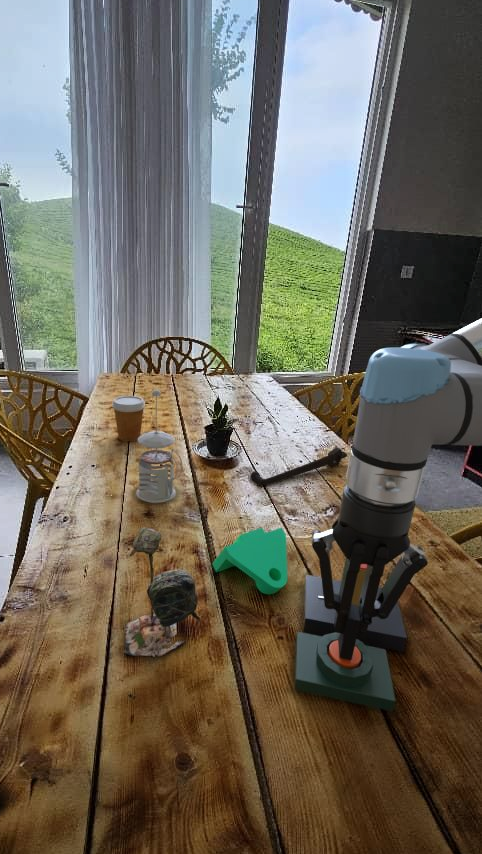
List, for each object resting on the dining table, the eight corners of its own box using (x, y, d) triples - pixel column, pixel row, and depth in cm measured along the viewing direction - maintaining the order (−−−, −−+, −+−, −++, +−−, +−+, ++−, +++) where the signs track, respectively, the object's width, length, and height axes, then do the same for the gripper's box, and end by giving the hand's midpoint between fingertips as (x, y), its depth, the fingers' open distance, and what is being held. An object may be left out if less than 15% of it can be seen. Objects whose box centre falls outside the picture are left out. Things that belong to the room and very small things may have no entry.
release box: (382, 660, 62) (388, 639, 60) (392, 713, 55) (399, 690, 53) (295, 643, 64) (298, 621, 63) (293, 691, 57) (297, 668, 55)
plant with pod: (200, 662, 60) (207, 539, 53) (117, 659, 60) (112, 535, 53) (201, 617, 68) (207, 504, 61) (127, 614, 68) (124, 500, 60)
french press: (154, 480, 109) (154, 381, 100) (192, 495, 103) (195, 391, 93) (125, 495, 101) (122, 390, 92) (164, 512, 95) (166, 401, 86)
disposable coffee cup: (136, 446, 127) (136, 407, 123) (107, 441, 130) (105, 402, 126) (150, 435, 136) (150, 397, 131) (122, 430, 139) (121, 393, 134)
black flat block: (391, 604, 72) (395, 588, 71) (402, 654, 63) (407, 637, 62) (303, 588, 75) (306, 573, 74) (302, 634, 66) (305, 617, 65)
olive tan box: (345, 589, 71) (354, 543, 67) (355, 591, 70) (365, 545, 67) (348, 616, 65) (358, 568, 62) (359, 618, 65) (370, 570, 62)
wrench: (248, 484, 112) (334, 455, 126) (260, 494, 108) (347, 463, 122) (249, 467, 110) (336, 439, 123) (261, 476, 106) (350, 446, 120)
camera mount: (207, 560, 79) (234, 616, 74) (222, 540, 73) (251, 599, 68) (261, 541, 84) (289, 592, 79) (278, 522, 79) (309, 575, 74)
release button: (357, 652, 60) (359, 643, 59) (360, 678, 56) (362, 668, 56) (326, 646, 61) (328, 637, 60) (328, 671, 57) (330, 661, 56)
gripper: (319, 498, 47) (293, 663, 56) (453, 518, 44) (403, 687, 53) (318, 468, 54) (294, 619, 62) (434, 484, 51) (392, 638, 60)
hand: (344, 650), depth 58 cm, fingers closed
